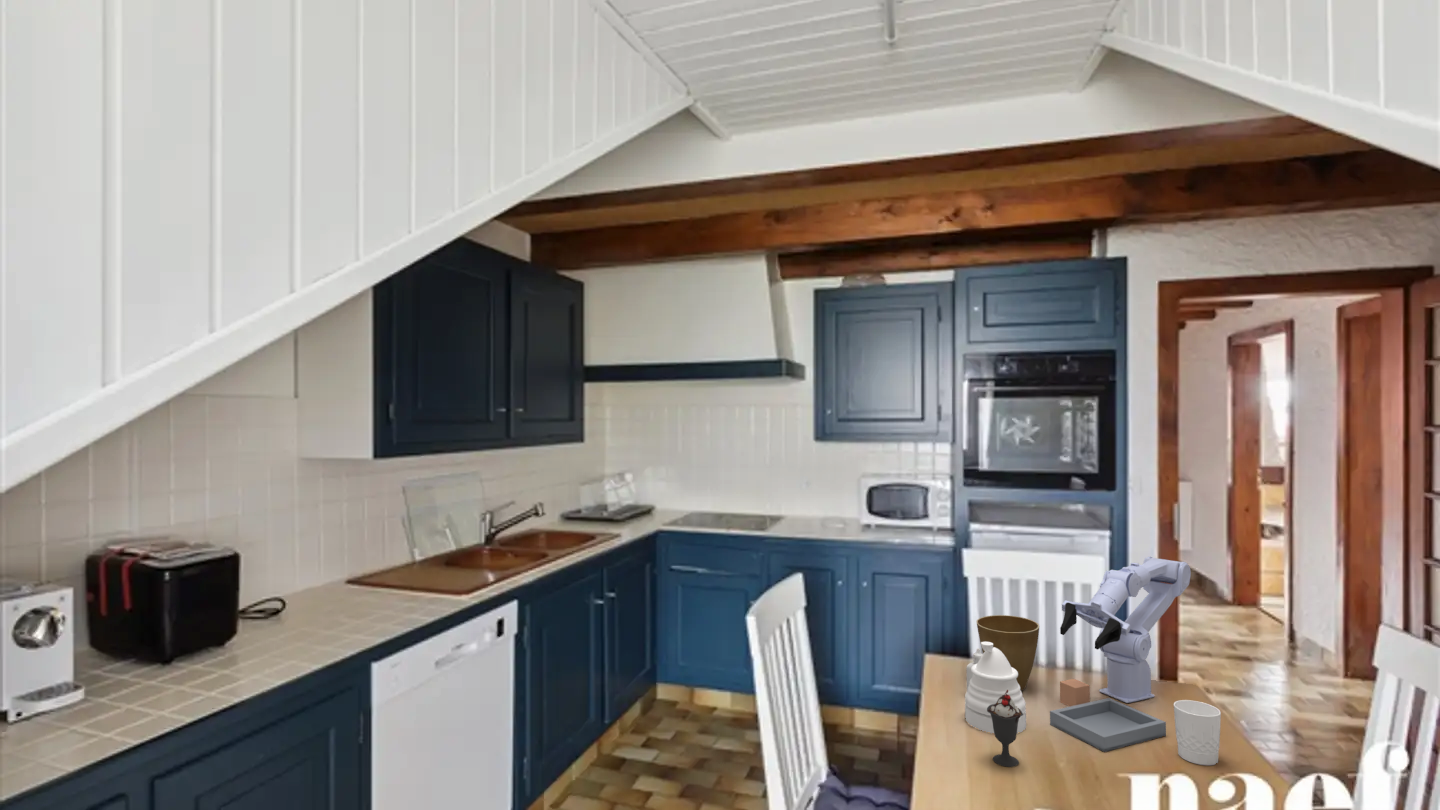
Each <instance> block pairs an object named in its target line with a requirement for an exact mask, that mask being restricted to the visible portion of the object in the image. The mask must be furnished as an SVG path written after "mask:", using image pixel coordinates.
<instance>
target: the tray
mask: <svg viewBox="0 0 1440 810" xmlns="http://www.w3.org/2000/svg"><path fill="white" fill-rule="evenodd" d="M1049 724H1050V726H1052V727H1055V728H1056V729H1058V730H1061V731H1062V732H1064V733H1066V734H1067V735H1070V736H1071V737H1073V738H1076V739H1078V740H1080V741H1081V742H1083V743H1086V744H1087V745H1090V746H1092V747H1094V748H1095V749H1097V750H1099V751H1101V752H1104V753H1105V752H1106V753H1107V752H1110V751H1114V750H1118V749H1122V748H1125V746H1126V747H1129V745H1130V746H1132V745H1137V744H1141V743H1145V742H1148V740H1149V741H1152V739H1153V740H1155V738H1157V739H1160V738H1163V737H1162V736H1164V737H1166V736H1167V721H1164V720H1162V719H1160V718H1157V717H1155V716H1152V715H1150V714H1148V713H1146V712H1143V711H1141V710H1139V709H1136V708H1134V707H1131V706H1129V705H1127V704H1125V703H1122V702H1121V701H1120V702H1119V700H1118V701H1117V700H1115V699H1114V698H1110V697H1107V698H1103V699H1099V700H1093V701H1090V702H1088V703H1084V704H1079V705H1075V706H1067V707H1063V708H1057V709H1053V710H1049ZM1159 737H1160V738H1159ZM1144 741H1145V742H1144ZM1136 743H1137V744H1136Z"/></svg>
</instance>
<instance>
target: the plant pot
mask: <svg viewBox="0 0 1440 810" xmlns="http://www.w3.org/2000/svg"><path fill="white" fill-rule="evenodd" d="M976 627H977V632H978V637H979V642H980V644H981V642H991V643H993V647H995V648H997V649H999V650H1000V651H1001V652H1002V653H1003V654H1004V655H1005V657H1006V658H1007V660H1008V662H1009V664H1010V666H1011V667H1012V668H1014V669H1015V670H1017V672H1018V677H1017V678H1016V680H1017V682H1018V684H1019V685H1020V690H1021V691H1023V690H1025V689H1026V687H1027V685H1028V682H1029V680H1030V679H1029V678H1030V676H1031V673H1032V670H1033V665H1034V662H1035V658H1036V654H1037V648H1038V641H1039V636H1040V635H1039V633H1040V624H1039V623H1038V622H1036V621H1035V620H1032V619H1029V618H1026V617H1023V616H1017V615H1007V614H1006V615H1004V614H1003V615H1002V614H998V615H995V614H993V615H987V616H982V617H979V618H978V619H976ZM980 647H981V652H982V654H983V653H984V652H985V651H984V650H983V648H982V646H981V645H980Z"/></svg>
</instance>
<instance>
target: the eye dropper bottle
mask: <svg viewBox="0 0 1440 810" xmlns="http://www.w3.org/2000/svg"><path fill="white" fill-rule="evenodd" d="M982 655H983V652H982V651H981V649H980V648H979V647H978V648H976V652H974V653H973V655H972V657H973V661H972V662H969V663H968V664H967V665H966V692H967V691H968V686H969V685H970V683H969V682H970V679H971V678H972V676H973V673H972V672H971V667H972V666H973V665H974V664H977V663H978V662H979V660H980V658H981V656H982Z"/></svg>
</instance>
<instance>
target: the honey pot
mask: <svg viewBox="0 0 1440 810" xmlns="http://www.w3.org/2000/svg"><path fill="white" fill-rule="evenodd" d="M981 646H982V647H981ZM980 647H981V649H982V648H983V650H984V651H985V652H984V653H983V652H982V654H983V655H982V656H981V658H980V660H979V662H978V663H977V664H974V665H973V666H972V667H971V672H972V673H973V676H972V678H971V679H970V682H969V683H970V685H969V686H968V691H967V690H966V692H965V694H964V695H965V696H964V702H965V703H964V716H965V718H966V719H965V721H967V722H968V723H969V724H970V725H969V724H968V723H967V724H968V725H969V726H971V725H972V726H973V727H972V726H971V727H972V728H974V727H976V728H978V729H979V730H978V729H977V730H978V731H981V730H982V731H981V732H984V731H986V732H985V733H987V732H990V733H989V734H992V733H994V729H993V722H992V717H991V714H990V713H989V712H988V711H987V708H988V706H989V705H992V704H996V702H997V700H998V698H1000V697H1001V696H1002V695H1006V694H1007V695H1009V696H1010V698H1011V699H1012V700H1013V701H1014V703H1015V706H1017V708H1019V709H1020V710H1021V711H1022V713H1023V715H1022V716H1020V718H1019V721H1018V727H1017V734H1019V733H1018V732H1020V733H1022V732H1024V731H1025V730H1026V728H1027V712H1026V709H1027V708H1026V707H1027V706H1026V705H1027V703H1026V700H1025V698H1024V697H1023V692H1022V690H1020V685H1019V684H1018V682H1017V680H1016V678H1017V677H1018V672H1017V670H1015V669H1014V668H1012V667H1011V666H1010V664H1009V662H1008V660H1007V658H1006V657H1005V655H1004V654H1003V653H1002V652H1001V651H1000V650H999V649H997V648H995V647H993V643H991V642H981V643H980ZM1007 690H1008V693H1006V691H1007ZM1005 693H1006V694H1005ZM976 728H975V729H976ZM1023 730H1024V731H1023Z"/></svg>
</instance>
